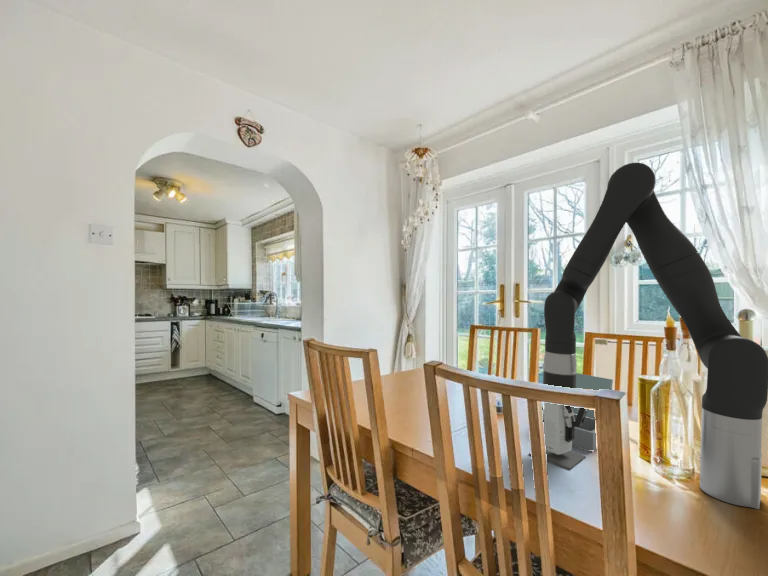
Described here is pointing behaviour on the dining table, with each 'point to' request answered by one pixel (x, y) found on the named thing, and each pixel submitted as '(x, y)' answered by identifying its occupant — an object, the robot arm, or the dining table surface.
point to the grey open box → (585, 435)
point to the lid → (591, 387)
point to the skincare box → (555, 429)
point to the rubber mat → (564, 459)
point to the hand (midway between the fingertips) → (557, 437)
